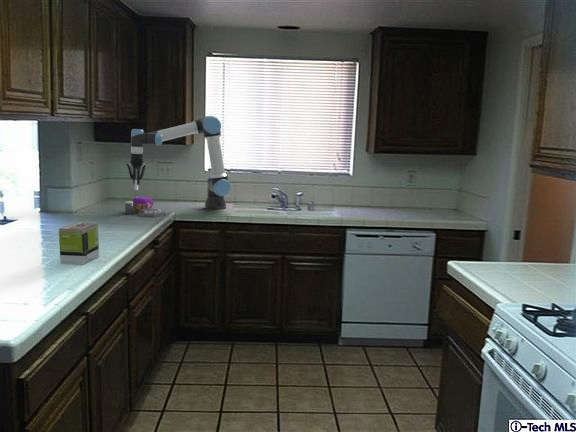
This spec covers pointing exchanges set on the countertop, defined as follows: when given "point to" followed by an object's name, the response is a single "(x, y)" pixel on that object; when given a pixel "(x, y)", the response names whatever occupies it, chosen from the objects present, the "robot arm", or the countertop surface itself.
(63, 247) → the tea box
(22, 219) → the countertop surface
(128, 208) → the lens
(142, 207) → the stop bar
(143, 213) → the mount
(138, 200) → the toy camera
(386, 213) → the countertop surface
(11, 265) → the countertop surface
